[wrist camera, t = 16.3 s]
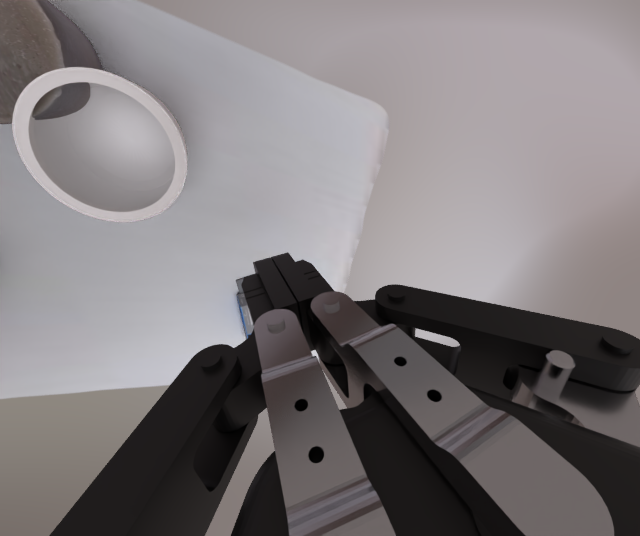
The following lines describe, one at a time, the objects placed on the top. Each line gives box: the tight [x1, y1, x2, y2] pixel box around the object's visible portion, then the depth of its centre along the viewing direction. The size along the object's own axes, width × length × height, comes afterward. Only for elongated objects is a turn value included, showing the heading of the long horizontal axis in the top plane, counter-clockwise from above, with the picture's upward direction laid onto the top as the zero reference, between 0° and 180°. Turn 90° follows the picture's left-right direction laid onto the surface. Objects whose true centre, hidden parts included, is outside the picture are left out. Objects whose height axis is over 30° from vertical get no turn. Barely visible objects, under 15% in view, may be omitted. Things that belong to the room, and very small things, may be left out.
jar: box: [12, 67, 187, 222], centre depth 27 cm, size 11×10×15 cm
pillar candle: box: [0, 0, 103, 124], centre depth 22 cm, size 10×10×15 cm
